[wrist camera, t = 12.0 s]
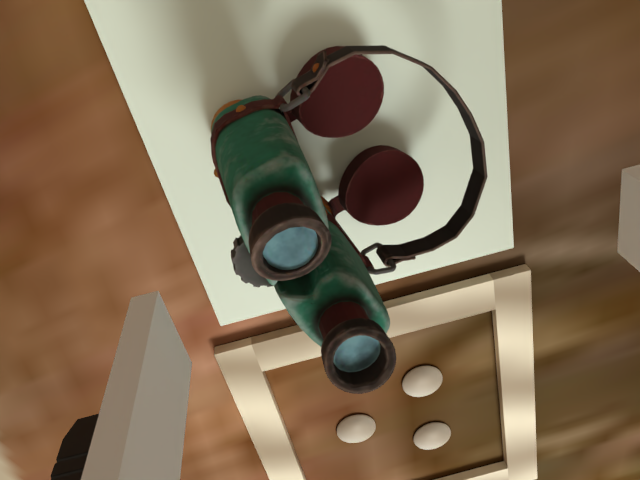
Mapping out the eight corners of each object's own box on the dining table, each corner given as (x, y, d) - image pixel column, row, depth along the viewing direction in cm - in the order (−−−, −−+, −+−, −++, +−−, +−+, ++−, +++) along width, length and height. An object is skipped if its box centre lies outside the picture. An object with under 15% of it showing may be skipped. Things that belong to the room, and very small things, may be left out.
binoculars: (609, 294, 17) (322, 449, 18) (458, 170, 26) (270, 274, 27) (543, 17, 13) (156, 234, 13) (387, -19, 22) (161, 110, 22)
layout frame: (533, 471, 40) (537, 478, 39) (296, 534, 40) (297, 542, 39) (525, 263, 30) (530, 270, 30) (214, 346, 30) (214, 354, 30)
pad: (505, 237, 29) (513, 247, 28) (221, 313, 29) (220, 325, 28) (483, -128, 21) (494, -129, 20) (83, -20, 21) (76, -17, 20)
